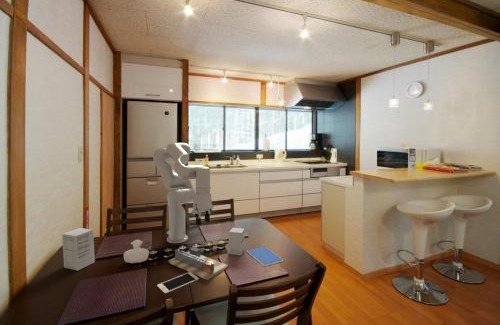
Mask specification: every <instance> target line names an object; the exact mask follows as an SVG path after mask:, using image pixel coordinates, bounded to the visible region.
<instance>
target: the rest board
mask: <svg viewBox="0 0 500 325" xmlns="http://www.w3.org/2000/svg"><path fill="white" fill-rule="evenodd" d="M186 252H187V253H189V250H188V251H186ZM199 257H200V258H202V259H205V260H207V261H210V262H213V263H214V272H213V273H212V274H208V273H206V272H204V271H201V270H199V269H197V268H194V267H192V266H190V265H187V264H185V263H183V262H180V261H178V260H176V259H175V257H173V258H171V259H169V260H168V263H169V264H170V265H172V266H175V267H177V268H179V269H181V270H184V271H186V272H187V273H188V272H191V273H192V274H194V275H195V276H196V277H198V278H199V277H200V278H202V279H204V280H206V281H209V280H210V279H212V278H214V277H216V276H217V275H219V274H220V273H221V272H224V270H225V271H226V269H228V268H227V267H229V265H228V264H226V263H223V262H220V261H218V260H215V259H213V258H210V257H207V256H206V255H202V254H200V256H199Z"/></svg>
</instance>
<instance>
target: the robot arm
mask: <svg viewBox="0 0 500 325" xmlns="http://www.w3.org/2000/svg"><path fill="white" fill-rule="evenodd" d="M190 154H191V147H190V145H189V144H188V143H185V142H171V143H169V144H167V145H166V147H159V148H156V149H155V150H154V151H153V153H152V159H153V162H154V165H155V166H156V168H157V169H158V171H159V173H160V175H161V179H162V181H163V184H164V186H165V188H166V189H167V190H170V191H168V193H167V194H166V199H167V204H168V216H169V217H168V223H169V224H168V228H169V229H168V231H166V234H167V235H168V237H167V238H166V242H167V243H169V244H180V243H184V242H186V241H188V239H189V236H188V235H187V234H186V210H185V208H184V207H183V206H182V205H183V204H184V205H185V204H188V203H192V210H191V212H190V213H191V214H192V215H193V216H194V218H195V225H196V226H201V225H202V218H201V216H202V215H201V214H202V213H203V212H205V213H204V221H205V222H207V223H210V222H211V221H210V219H211V214H212V211H213V208H214V205H213V202H212V193H211V168H210V167H208V166H203V165H201V164H195V165H186V164H188V163H189V160H190ZM171 161H173V162H174V163H173V164H174V165H173V166H174V167H173V166H172V164H170V163H169V162H171ZM192 180H195V188H194V185H193V183H192Z"/></svg>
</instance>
